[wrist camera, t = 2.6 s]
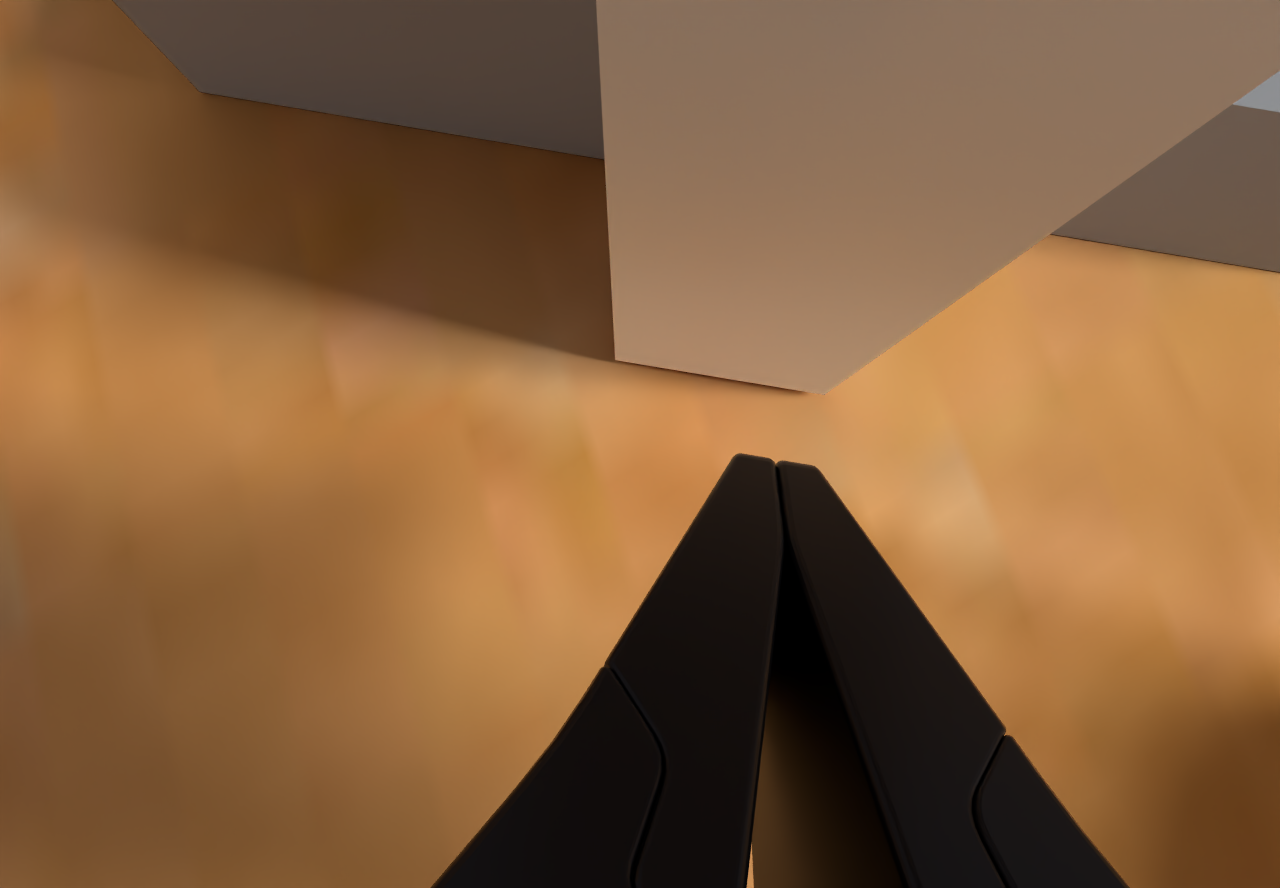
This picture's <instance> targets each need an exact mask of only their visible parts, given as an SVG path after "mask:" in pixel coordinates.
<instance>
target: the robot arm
mask: <svg viewBox="0 0 1280 888" xmlns="http://www.w3.org/2000/svg"><path fill="white" fill-rule="evenodd" d="M1005 732H1006V728H1005V726H1004V725H1003V723H1002V722H1001V720H1000V719H999V718H998V716H997V715H996V714H995V712H994V711H993V709H992V708H991V707H990V705H989V704H988V702H987V701H986V700H985V698H984V697H983V696H982V694H981V693H980V691H979V690H978V689H977V687H976V686H975V684H974V683H973V682H972V680H971V679H970V678H969V676H968V675H967V673H966V672H965V671H964V669H963V668H962V666H961V665H960V664H959V662H958V661H957V660H956V658H955V657H954V655H953V654H952V653H951V651H950V650H949V648H948V647H947V646H946V644H945V643H944V642H943V640H942V639H941V637H940V636H939V635H938V633H937V632H936V631H935V629H934V628H933V626H932V625H931V624H930V622H929V621H928V619H927V618H926V617H925V615H924V614H923V613H922V611H921V610H920V608H919V607H918V606H917V604H916V603H915V601H914V600H913V599H912V597H911V596H910V595H909V593H908V592H907V590H906V589H905V588H904V586H903V585H902V583H901V582H900V581H899V579H898V578H897V577H896V575H895V574H894V572H893V571H892V570H891V568H890V567H889V565H888V564H887V563H886V561H885V560H884V559H883V557H882V556H881V554H880V553H879V552H878V550H877V549H876V547H875V546H874V545H873V543H872V542H871V541H870V539H869V538H868V536H867V535H866V534H865V532H864V531H863V529H862V528H861V527H860V525H859V524H858V523H857V521H856V520H855V518H854V517H853V516H852V514H851V513H850V512H849V510H848V509H847V507H846V506H845V505H844V503H843V502H842V500H841V499H840V498H839V496H838V495H837V494H836V492H835V491H834V489H833V488H832V487H831V485H830V484H829V482H828V481H827V480H826V478H825V477H824V476H823V474H822V473H821V471H820V470H819V469H818V468H816V467H815V466H812V465H807V464H801V463H795V462H789V461H779V462H778V463H776V465H775V462H774V461H773V460H771V459H770V458H765V457H759V456H753V455H748V454H742V453H741V454H736V455H735V456H734V457H733V458H732V460H731V461H730V463H729V464H728V466H727V468H726V469H725V471H724V472H723V474H722V476H721V477H720V479H719V480H718V482H717V484H716V485H715V487H714V488H713V490H712V492H711V493H710V495H709V496H708V498H707V500H706V501H705V503H704V504H703V506H702V508H701V509H700V511H699V512H698V514H697V516H696V517H695V519H694V520H693V522H692V524H691V525H690V527H689V528H688V530H687V532H686V533H685V535H684V536H683V538H682V540H681V541H680V543H679V544H678V546H677V548H676V549H675V551H674V552H673V554H672V556H671V557H670V559H669V560H668V562H667V564H666V565H665V567H664V568H663V570H662V572H661V573H660V575H659V576H658V578H657V580H656V581H655V583H654V584H653V586H652V588H651V589H650V591H649V592H648V594H647V596H646V597H645V599H644V600H643V602H642V604H641V605H640V607H639V608H638V610H637V612H636V613H635V615H634V616H633V618H632V620H631V621H630V623H629V624H628V626H627V628H626V629H625V631H624V632H623V634H622V636H621V637H620V639H619V640H618V642H617V644H616V645H615V647H614V648H613V650H612V652H611V653H610V655H609V656H608V658H607V660H606V661H605V665H604V667H602V668H601V669H600V670H599V672H598V673H597V675H596V676H595V678H594V679H593V681H592V683H591V684H590V686H589V687H588V689H587V691H586V692H585V694H584V695H583V697H582V698H581V700H580V701H579V703H578V704H577V706H576V707H575V709H574V710H573V712H572V713H571V715H570V716H569V718H568V719H567V720H566V722H565V723H564V725H563V726H562V728H561V729H560V731H559V732H558V734H557V735H556V737H555V738H554V740H553V741H552V742H551V744H550V745H549V746H548V747H547V749H546V750H545V751H544V752H543V754H542V755H541V756H540V758H539V759H538V760H537V761H536V763H535V764H534V765H533V766H532V768H531V769H530V770H529V772H528V773H527V774H526V775H525V777H524V778H523V779H522V780H521V782H520V783H519V784H518V785H517V787H516V788H515V789H514V790H513V792H512V793H511V794H510V795H509V796H508V798H507V799H506V800H505V801H504V802H503V803H502V805H501V806H500V807H499V808H498V809H497V810H496V812H495V813H494V814H493V815H492V816H491V817H490V819H489V820H488V821H487V822H486V823H485V825H484V826H483V827H482V828H481V829H480V830H479V832H478V833H477V834H476V835H475V836H474V837H473V839H472V840H471V841H470V842H469V843H468V845H467V846H466V847H465V848H464V849H463V850H462V852H461V853H460V854H459V855H458V856H457V857H456V859H455V860H454V861H453V862H452V863H451V864H450V866H449V867H448V868H447V869H446V870H445V872H444V873H443V874H442V875H441V876H440V877H439V879H438V880H437V881H436V882H435V883H434V884H433V886H432V887H431V888H746V887H747V878H748V869H749V861H750V852H751V843H752V857H753V879H754V888H1130V887H1129V886H1128V885H1127V884H1126V882H1125V881H1124V880H1123V879H1122V878H1121V876H1120V875H1119V874H1118V873H1117V872H1116V870H1115V869H1114V868H1113V867H1112V865H1111V864H1110V863H1109V862H1108V861H1107V859H1106V858H1105V857H1104V856H1103V855H1102V853H1101V852H1100V851H1099V850H1098V849H1097V847H1096V846H1095V845H1094V844H1093V842H1092V841H1091V840H1090V839H1089V838H1088V836H1087V835H1086V834H1085V833H1084V832H1083V830H1082V829H1081V828H1080V826H1079V825H1078V824H1077V823H1076V821H1075V820H1074V819H1073V817H1072V816H1071V815H1070V813H1069V812H1068V811H1067V809H1066V808H1065V807H1064V805H1063V804H1062V803H1061V801H1060V800H1059V799H1058V797H1057V796H1056V795H1055V794H1054V792H1053V791H1052V790H1051V788H1050V787H1049V786H1048V784H1047V783H1046V782H1045V780H1044V779H1043V778H1042V776H1041V775H1040V774H1039V772H1038V771H1037V770H1036V768H1035V767H1034V766H1033V764H1032V763H1031V761H1030V760H1029V759H1028V757H1027V756H1026V754H1025V753H1024V752H1023V750H1022V749H1021V748H1020V746H1019V745H1018V743H1017V742H1016V741H1015V739H1014V738H1013V737H1012V736H1010V735H1005ZM1004 735H1005V736H1004Z"/></svg>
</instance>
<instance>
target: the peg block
mask: <svg viewBox="0 0 1280 888" xmlns="http://www.w3.org/2000/svg"><path fill="white" fill-rule="evenodd" d="M596 8H597V27H598V46H599V65H600V84H601V102H602V121H603V140H604V159H605V177H606V196H607V215H608V234H609V252H610V271H611V290H612V309H613V327H614V346H615V360H618V361H624V362H630V363H636V364H642V365H648V366H654V367H660V368H666V369H672V370H678V371H684V372H690V373H696V374H702V375H708V376H714V377H720V378H726V379H732V380H738V381H744V382H750V383H756V384H762V385H768V386H774V387H780V388H786V389H792V390H798V391H804V392H810V393H816V394H822V395H825V394H826V393H828V392H829V391H831V390H832V389H833V388H835V387H836V386H838V385H839V384H840V383H842V382H843V381H845V380H846V379H848V378H849V377H850V376H852V375H853V374H855V373H856V372H857V371H859V370H860V369H862V368H863V367H864V366H866V365H867V364H869V363H870V362H871V361H873V360H874V359H876V358H877V357H878V356H880V355H881V354H883V353H884V352H885V351H887V350H888V349H890V348H891V347H892V346H894V345H895V344H897V343H898V342H899V341H901V340H902V339H904V338H905V337H906V336H908V335H909V334H911V333H912V332H913V331H915V330H916V329H918V328H919V327H921V326H922V325H923V324H925V323H926V322H928V321H929V320H930V319H932V318H933V317H935V316H936V315H937V314H939V313H940V312H942V311H943V310H944V309H946V308H947V307H949V306H950V305H951V304H953V303H954V302H956V301H957V300H958V299H960V298H961V297H963V296H964V295H965V294H967V293H968V292H970V291H971V290H972V289H974V288H975V287H977V286H978V285H979V284H981V283H982V282H984V281H985V280H986V279H988V278H989V277H991V276H992V275H993V274H995V273H996V272H998V271H999V270H1001V269H1002V268H1003V267H1005V266H1006V265H1008V264H1009V263H1010V262H1012V261H1013V260H1015V259H1016V258H1017V257H1019V256H1020V255H1022V254H1023V253H1024V252H1026V251H1027V250H1029V249H1030V248H1031V247H1033V246H1034V245H1036V244H1037V243H1038V242H1040V241H1041V240H1043V239H1044V238H1045V237H1047V236H1048V235H1050V234H1051V233H1052V232H1054V231H1055V230H1057V229H1058V228H1059V227H1061V226H1062V225H1064V224H1065V223H1066V222H1068V221H1069V220H1071V219H1072V218H1074V217H1075V216H1076V215H1078V214H1079V213H1081V212H1082V211H1083V210H1085V209H1086V208H1088V207H1089V206H1090V205H1092V204H1093V203H1095V202H1096V201H1097V200H1099V199H1100V198H1102V197H1103V196H1104V195H1106V194H1107V193H1109V192H1110V191H1111V190H1113V189H1114V188H1116V187H1117V186H1118V185H1120V184H1121V183H1123V182H1124V181H1125V180H1127V179H1128V178H1130V177H1131V176H1132V175H1134V174H1135V173H1137V172H1138V171H1139V170H1141V169H1142V168H1144V167H1145V166H1146V165H1148V164H1149V163H1151V162H1152V161H1154V160H1155V159H1156V158H1158V157H1159V156H1161V155H1162V154H1163V153H1165V152H1166V151H1168V150H1169V149H1170V148H1172V147H1173V146H1175V145H1176V144H1177V143H1179V142H1180V141H1182V140H1183V139H1184V138H1186V137H1187V136H1189V135H1190V134H1191V133H1193V132H1194V131H1196V130H1197V129H1198V128H1200V127H1201V126H1203V125H1204V124H1205V123H1207V122H1208V121H1210V120H1211V119H1212V118H1214V117H1215V116H1217V115H1218V114H1219V113H1221V112H1222V111H1224V110H1225V109H1226V108H1228V107H1229V106H1231V105H1232V104H1234V103H1235V102H1236V101H1238V100H1239V99H1241V98H1242V97H1243V96H1245V95H1246V94H1248V93H1249V92H1250V91H1252V90H1253V89H1255V88H1256V87H1257V86H1259V85H1260V84H1262V83H1263V82H1264V81H1266V80H1267V79H1269V78H1270V77H1271V76H1273V75H1274V74H1276V73H1277V72H1278V71H1280V0H596Z"/></svg>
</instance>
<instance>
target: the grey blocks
mask: <svg viewBox="0 0 1280 888" xmlns="http://www.w3.org/2000/svg"><path fill="white" fill-rule="evenodd" d="M112 1H113V2H114V3H115V4H116V5H117V6H118V7H119V8H120V9H121V10H122V11H123V12H124V13H125V14H126V15H127V16H128V17H129V18H130V19H131V20H132V21H133V23H134V24H135V25H136V26H137V27H138V28H139V29H140V30H141V31H142V32H143V33H144V34H145V35H146V36H147V37H148V38H149V39H150V40H151V41H152V42H153V43H154V45H155V46H156V47H157V48H158V49H159V50H160V51H161V52H162V53H163V54H164V55H165V56H166V57H167V58H168V59H169V60H170V61H171V62H172V63H173V64H174V65H175V67H176V68H177V69H178V70H179V71H180V72H181V73H182V74H183V75H184V76H185V77H186V78H187V79H188V80H189V81H190V82H191V83H192V84H193V85H194V86H195V87H196V89H197V90H198V91H199V92H203V93H209V94H215V95H221V96H227V97H233V98H239V99H245V100H251V101H257V102H263V103H269V104H275V105H281V106H287V107H293V108H299V109H305V110H311V111H317V112H323V113H329V114H335V115H341V116H347V117H353V118H359V119H365V120H371V121H377V122H383V123H389V124H395V125H401V126H407V127H413V128H419V129H425V130H431V131H437V132H443V133H449V134H455V135H461V136H467V137H473V138H479V139H485V140H491V141H497V142H503V143H509V144H515V145H521V146H527V147H533V148H539V149H545V150H551V151H557V152H563V153H569V154H575V155H581V156H587V157H593V158H599V159H604V140H603V121H602V102H601V84H600V65H599V46H598V27H597V8H596V0H112ZM1051 234H1054V235H1060V236H1066V237H1072V238H1078V239H1084V240H1090V241H1096V242H1102V243H1108V244H1114V245H1120V246H1126V247H1132V248H1138V249H1144V250H1150V251H1156V252H1162V253H1168V254H1174V255H1180V256H1186V257H1192V258H1198V259H1204V260H1210V261H1216V262H1222V263H1228V264H1234V265H1240V266H1246V267H1252V268H1258V269H1264V270H1270V271H1276V272H1280V71H1278V72H1277V73H1276V74H1274V75H1273V76H1271V77H1270V78H1269V79H1267V80H1266V81H1264V82H1263V83H1262V84H1260V85H1259V86H1257V87H1256V88H1255V89H1253V90H1252V91H1250V92H1249V93H1248V94H1246V95H1245V96H1243V97H1242V98H1241V99H1239V100H1238V101H1236V102H1235V103H1234V104H1232V105H1231V106H1229V107H1228V108H1226V109H1225V110H1224V111H1222V112H1221V113H1219V114H1218V115H1217V116H1215V117H1214V118H1212V119H1211V120H1210V121H1208V122H1207V123H1205V124H1204V125H1203V126H1201V127H1200V128H1198V129H1197V130H1196V131H1194V132H1193V133H1191V134H1190V135H1189V136H1187V137H1186V138H1184V139H1183V140H1182V141H1180V142H1179V143H1177V144H1176V145H1175V146H1173V147H1172V148H1170V149H1169V150H1168V151H1166V152H1165V153H1163V154H1162V155H1161V156H1159V157H1158V158H1156V159H1155V160H1154V161H1152V162H1151V163H1149V164H1148V165H1146V166H1145V167H1144V168H1142V169H1141V170H1139V171H1138V172H1137V173H1135V174H1134V175H1132V176H1131V177H1130V178H1128V179H1127V180H1125V181H1124V182H1123V183H1121V184H1120V185H1118V186H1117V187H1116V188H1114V189H1113V190H1111V191H1110V192H1109V193H1107V194H1106V195H1104V196H1103V197H1102V198H1100V199H1099V200H1097V201H1096V202H1095V203H1093V204H1092V205H1090V206H1089V207H1088V208H1086V209H1085V210H1083V211H1082V212H1081V213H1079V214H1078V215H1076V216H1075V217H1074V218H1072V219H1071V220H1069V221H1068V222H1066V223H1065V224H1064V225H1062V226H1061V227H1059V228H1058V229H1057V230H1055V231H1054V232H1052V233H1051Z"/></svg>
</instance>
